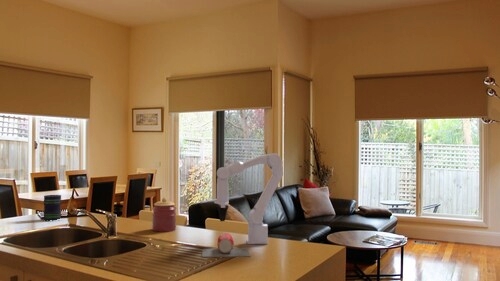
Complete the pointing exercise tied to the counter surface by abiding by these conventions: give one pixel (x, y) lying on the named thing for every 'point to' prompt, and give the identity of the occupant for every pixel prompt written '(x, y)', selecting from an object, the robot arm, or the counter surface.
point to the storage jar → (52, 207)
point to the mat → (233, 253)
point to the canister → (164, 216)
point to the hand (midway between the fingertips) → (222, 220)
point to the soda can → (225, 243)
